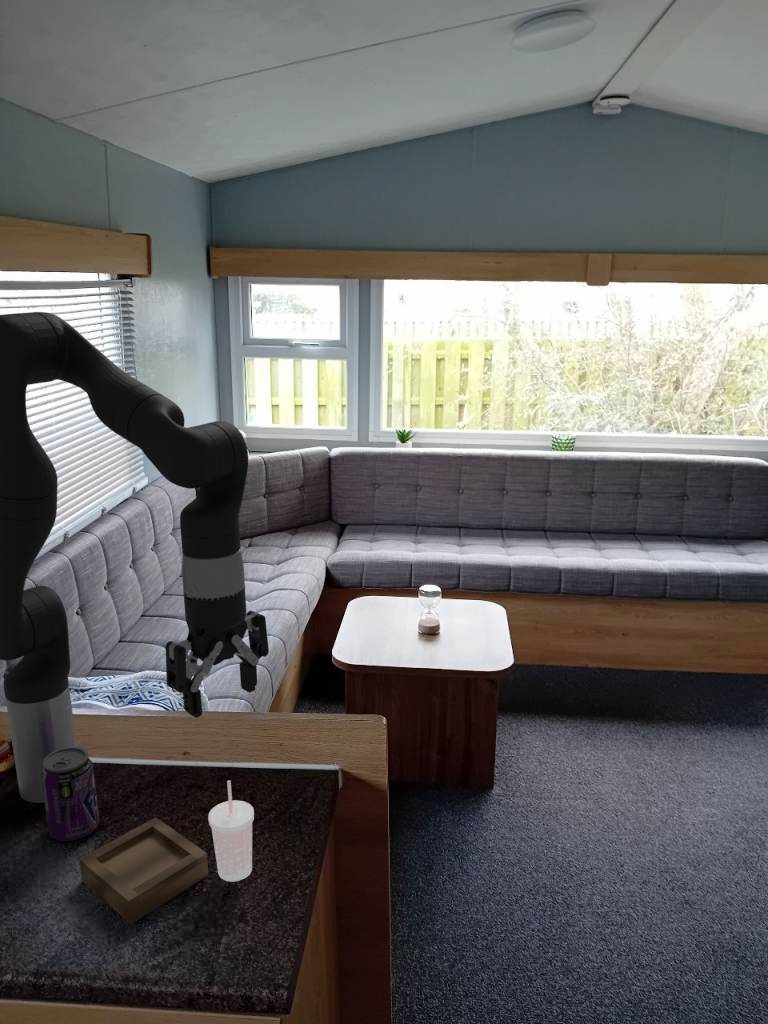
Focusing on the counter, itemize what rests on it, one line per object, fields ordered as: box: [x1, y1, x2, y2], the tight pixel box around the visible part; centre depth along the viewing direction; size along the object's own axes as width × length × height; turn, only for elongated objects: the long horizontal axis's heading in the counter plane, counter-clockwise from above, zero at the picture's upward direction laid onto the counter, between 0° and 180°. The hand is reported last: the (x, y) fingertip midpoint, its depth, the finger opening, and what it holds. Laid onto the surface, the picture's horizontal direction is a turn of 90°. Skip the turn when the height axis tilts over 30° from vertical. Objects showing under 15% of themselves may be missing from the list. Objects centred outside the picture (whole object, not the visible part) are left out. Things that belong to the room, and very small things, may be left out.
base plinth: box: [78, 816, 209, 925], centre depth 115 cm, size 12×12×4 cm
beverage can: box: [41, 746, 100, 842], centre depth 124 cm, size 7×7×12 cm
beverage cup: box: [207, 780, 255, 883], centre depth 115 cm, size 6×6×14 cm
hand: (222, 702), depth 110 cm, fingers open, 8 cm apart
